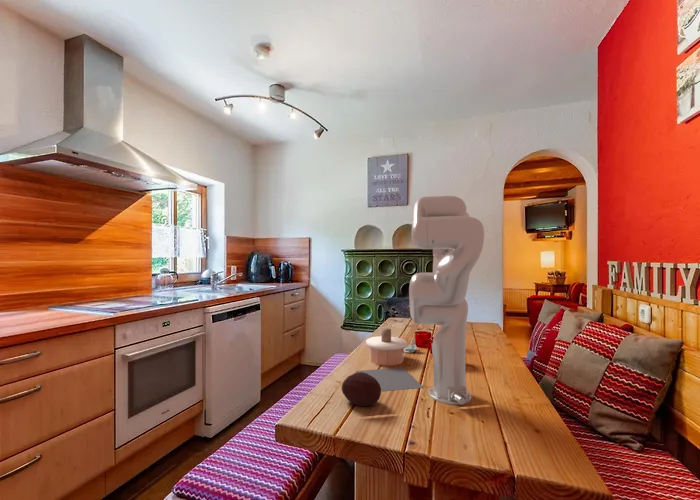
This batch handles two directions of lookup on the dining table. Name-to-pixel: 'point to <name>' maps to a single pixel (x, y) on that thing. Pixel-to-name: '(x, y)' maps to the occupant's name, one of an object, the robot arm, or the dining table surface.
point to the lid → (386, 341)
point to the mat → (393, 379)
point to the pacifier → (411, 347)
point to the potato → (361, 389)
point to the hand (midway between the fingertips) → (443, 296)
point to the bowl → (386, 356)
